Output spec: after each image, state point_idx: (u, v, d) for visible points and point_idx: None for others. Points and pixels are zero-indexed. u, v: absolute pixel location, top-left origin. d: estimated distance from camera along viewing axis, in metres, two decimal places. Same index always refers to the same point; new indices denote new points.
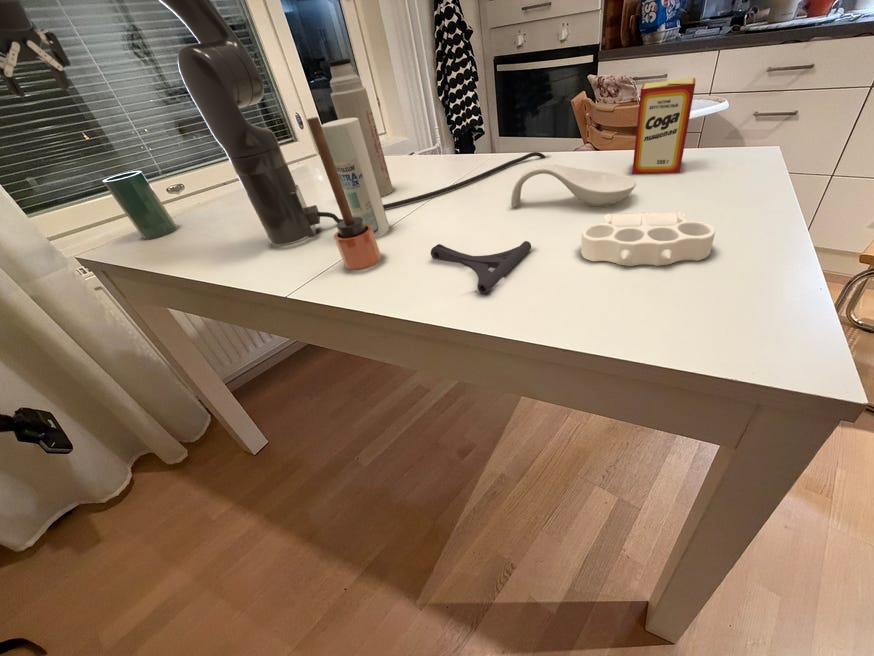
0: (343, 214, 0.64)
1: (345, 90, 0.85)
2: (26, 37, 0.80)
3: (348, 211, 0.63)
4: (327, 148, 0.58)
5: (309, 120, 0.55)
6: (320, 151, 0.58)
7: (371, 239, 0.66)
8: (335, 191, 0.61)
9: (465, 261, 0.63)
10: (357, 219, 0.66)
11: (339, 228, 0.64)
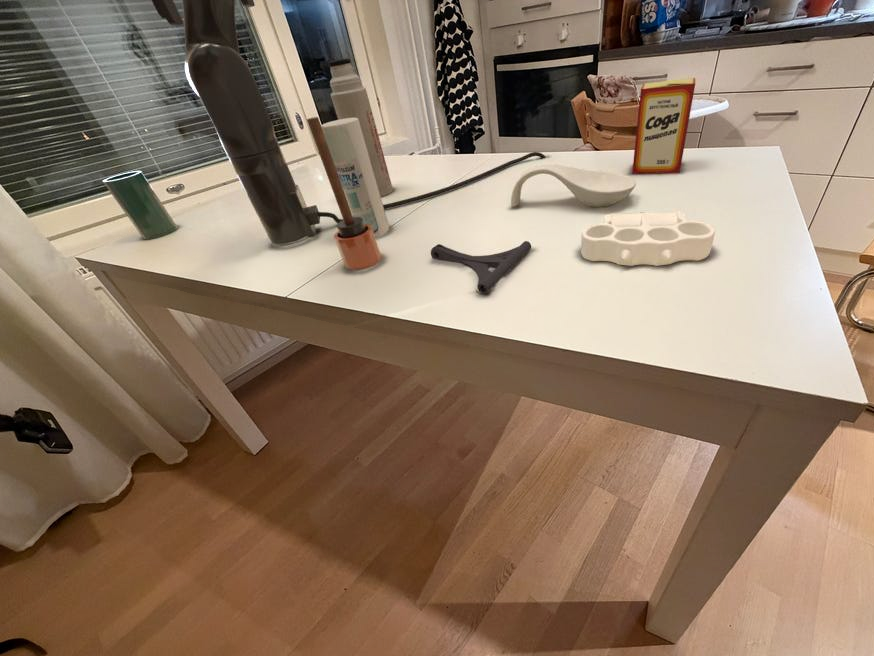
0: (343, 214, 0.64)
1: (345, 90, 0.85)
2: None
3: (348, 211, 0.63)
4: (327, 148, 0.58)
5: (309, 120, 0.55)
6: (320, 151, 0.58)
7: (371, 239, 0.66)
8: (335, 191, 0.61)
9: (465, 261, 0.63)
10: (357, 219, 0.66)
11: (339, 228, 0.64)
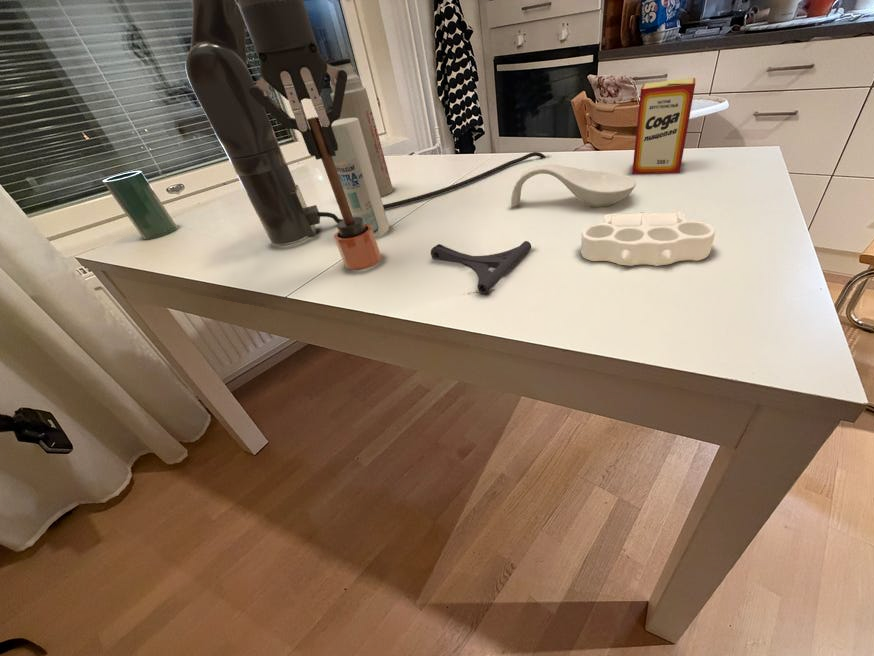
0: (343, 214, 0.64)
1: (345, 90, 0.85)
2: None
3: (348, 211, 0.63)
4: (327, 148, 0.58)
5: (309, 120, 0.55)
6: (320, 151, 0.58)
7: (371, 239, 0.66)
8: (335, 191, 0.61)
9: (465, 261, 0.63)
10: (357, 219, 0.66)
11: (339, 228, 0.64)
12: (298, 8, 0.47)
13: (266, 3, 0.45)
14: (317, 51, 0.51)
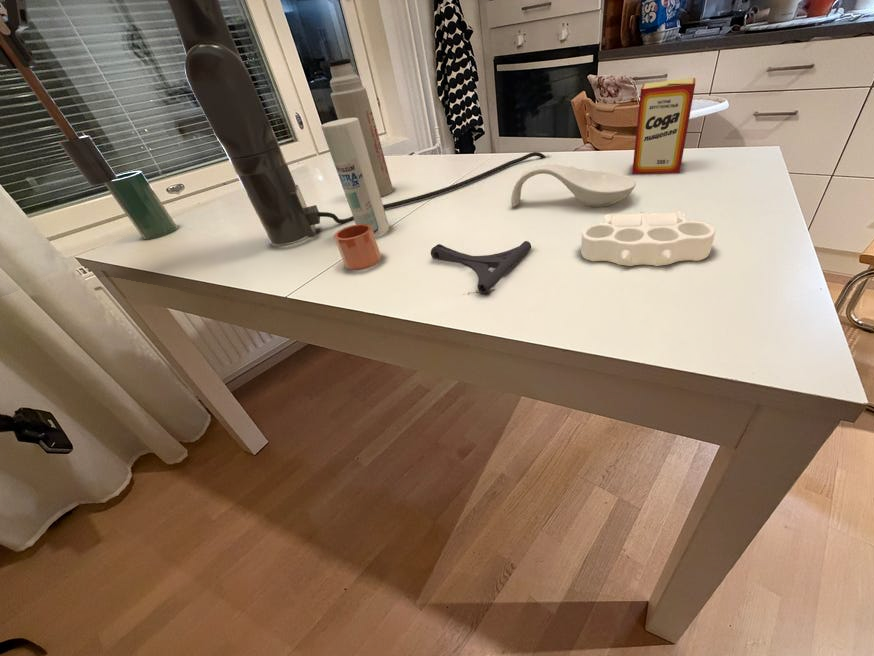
0: (61, 129, 0.66)
1: (345, 90, 0.85)
2: None
3: (66, 126, 0.66)
4: None
5: None
6: (11, 60, 0.60)
7: (371, 239, 0.66)
8: (43, 104, 0.64)
9: (465, 261, 0.63)
10: (83, 136, 0.68)
11: (59, 143, 0.67)
12: None
13: None
14: None
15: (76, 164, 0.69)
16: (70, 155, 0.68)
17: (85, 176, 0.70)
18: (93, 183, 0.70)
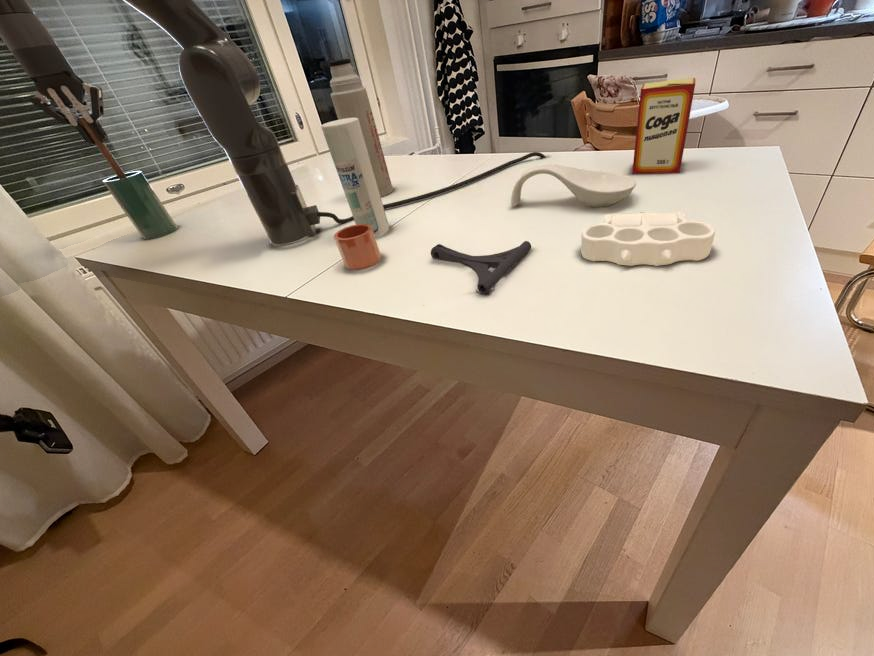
0: None
1: (345, 90, 0.85)
2: None
3: None
4: None
5: (78, 118, 0.85)
6: (92, 138, 0.88)
7: (371, 239, 0.66)
8: (111, 166, 0.92)
9: (465, 261, 0.63)
10: None
11: None
12: (48, 50, 0.78)
13: (22, 48, 0.75)
14: (72, 75, 0.81)
15: None
16: None
17: None
18: None
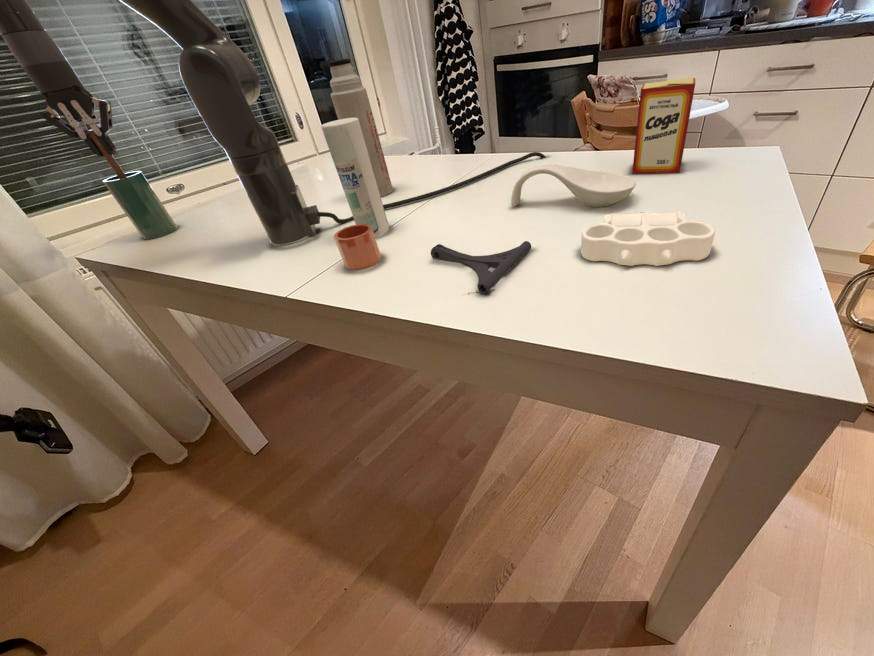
0: None
1: (345, 90, 0.85)
2: None
3: None
4: (105, 149, 0.90)
5: (87, 131, 0.87)
6: (100, 151, 0.90)
7: (371, 239, 0.66)
8: (119, 177, 0.93)
9: (465, 261, 0.63)
10: None
11: None
12: (59, 66, 0.79)
13: (34, 65, 0.77)
14: (81, 90, 0.83)
15: None
16: None
17: None
18: None
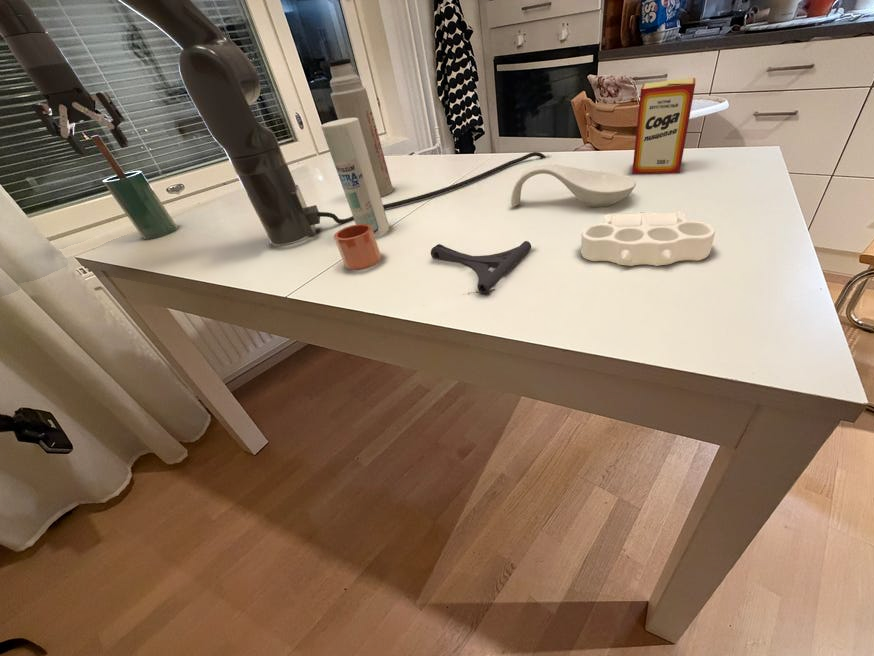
0: None
1: (345, 90, 0.85)
2: None
3: None
4: (109, 154, 0.90)
5: (91, 137, 0.88)
6: (104, 156, 0.90)
7: (371, 239, 0.66)
8: None
9: (465, 261, 0.63)
10: None
11: None
12: (60, 68, 0.79)
13: (35, 67, 0.77)
14: (83, 92, 0.83)
15: None
16: None
17: None
18: None
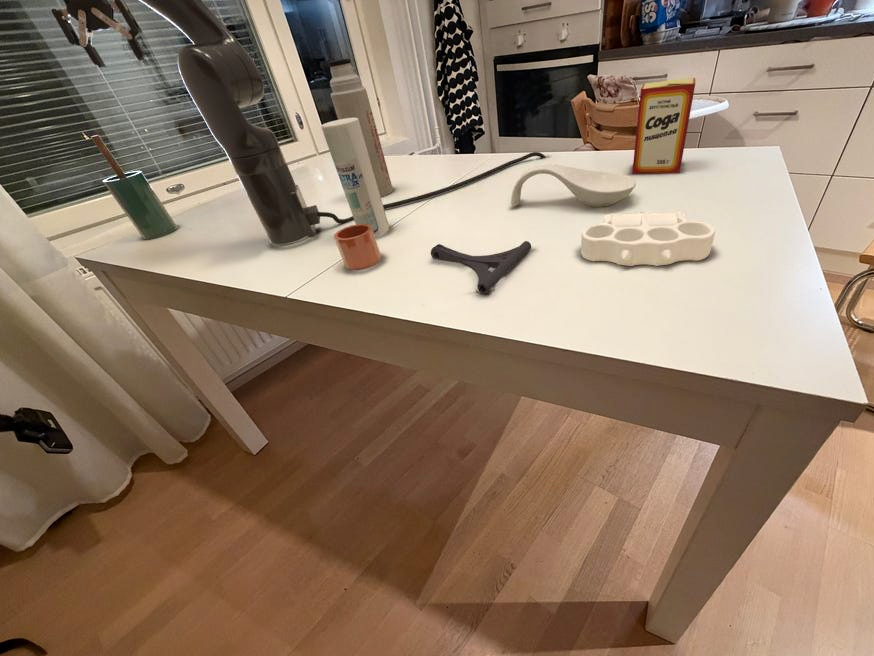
0: None
1: (345, 90, 0.85)
2: None
3: None
4: (109, 154, 0.90)
5: (91, 137, 0.88)
6: (104, 156, 0.90)
7: (371, 239, 0.66)
8: None
9: (465, 261, 0.63)
10: None
11: None
12: None
13: None
14: None
15: None
16: None
17: None
18: None
